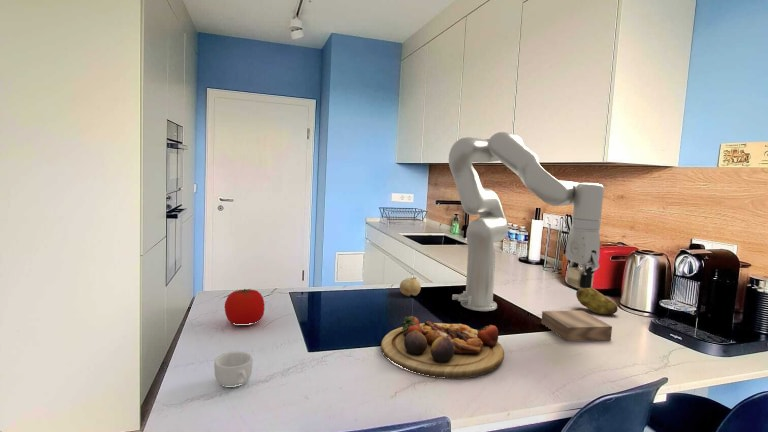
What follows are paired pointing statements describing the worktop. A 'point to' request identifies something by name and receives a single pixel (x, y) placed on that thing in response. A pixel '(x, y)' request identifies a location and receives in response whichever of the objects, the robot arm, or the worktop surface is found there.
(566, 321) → the walnut base block
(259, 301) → the tomato
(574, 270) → the maple cube
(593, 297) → the green pickle
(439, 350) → the wooden plate with food
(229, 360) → the teacup
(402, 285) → the cream round lump
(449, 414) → the worktop surface
